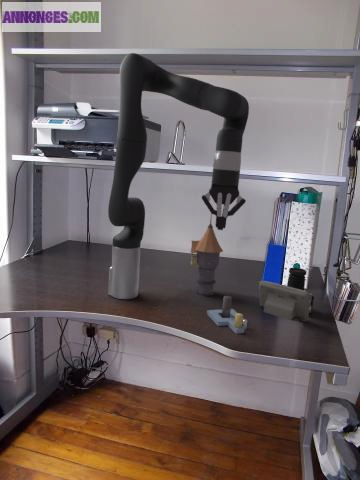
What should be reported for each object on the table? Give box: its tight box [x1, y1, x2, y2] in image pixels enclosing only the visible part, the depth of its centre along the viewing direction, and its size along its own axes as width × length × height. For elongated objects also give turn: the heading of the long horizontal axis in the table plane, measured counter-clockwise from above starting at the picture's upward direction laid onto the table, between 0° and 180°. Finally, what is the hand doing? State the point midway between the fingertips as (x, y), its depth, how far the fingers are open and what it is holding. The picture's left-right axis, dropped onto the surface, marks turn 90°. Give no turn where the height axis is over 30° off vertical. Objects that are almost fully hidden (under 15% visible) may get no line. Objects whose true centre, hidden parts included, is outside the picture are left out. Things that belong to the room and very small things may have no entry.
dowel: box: [242, 318, 248, 330], centre depth 103 cm, size 1×1×3 cm
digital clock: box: [258, 280, 310, 323], centre depth 116 cm, size 16×9×11 cm, turn 42°
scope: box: [286, 267, 315, 318], centre depth 122 cm, size 8×14×10 cm
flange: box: [206, 308, 245, 335], centre depth 106 cm, size 14×8×5 cm, turn 17°
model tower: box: [190, 212, 224, 297], centre depth 127 cm, size 10×11×30 cm
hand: (220, 229), depth 107 cm, fingers closed
